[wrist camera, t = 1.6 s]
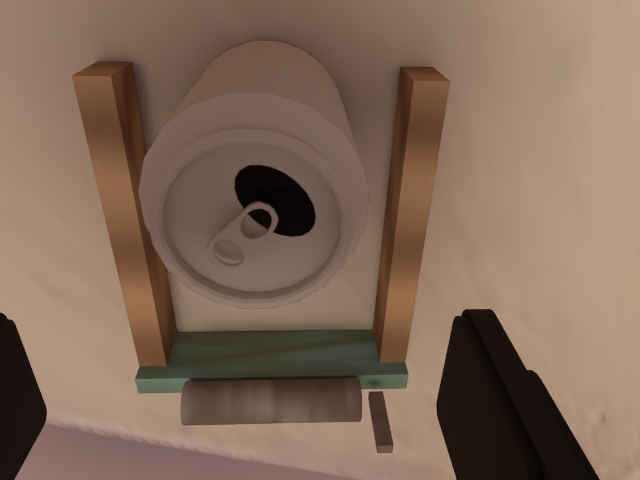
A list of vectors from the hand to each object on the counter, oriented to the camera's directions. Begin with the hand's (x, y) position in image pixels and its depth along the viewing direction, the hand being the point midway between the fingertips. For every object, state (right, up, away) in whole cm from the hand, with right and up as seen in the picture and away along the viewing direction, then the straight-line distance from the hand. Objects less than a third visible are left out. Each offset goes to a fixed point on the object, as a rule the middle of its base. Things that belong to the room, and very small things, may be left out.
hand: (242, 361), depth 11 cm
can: (-1, +9, +14) cm, 17 cm away
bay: (-1, +4, +17) cm, 18 cm away
